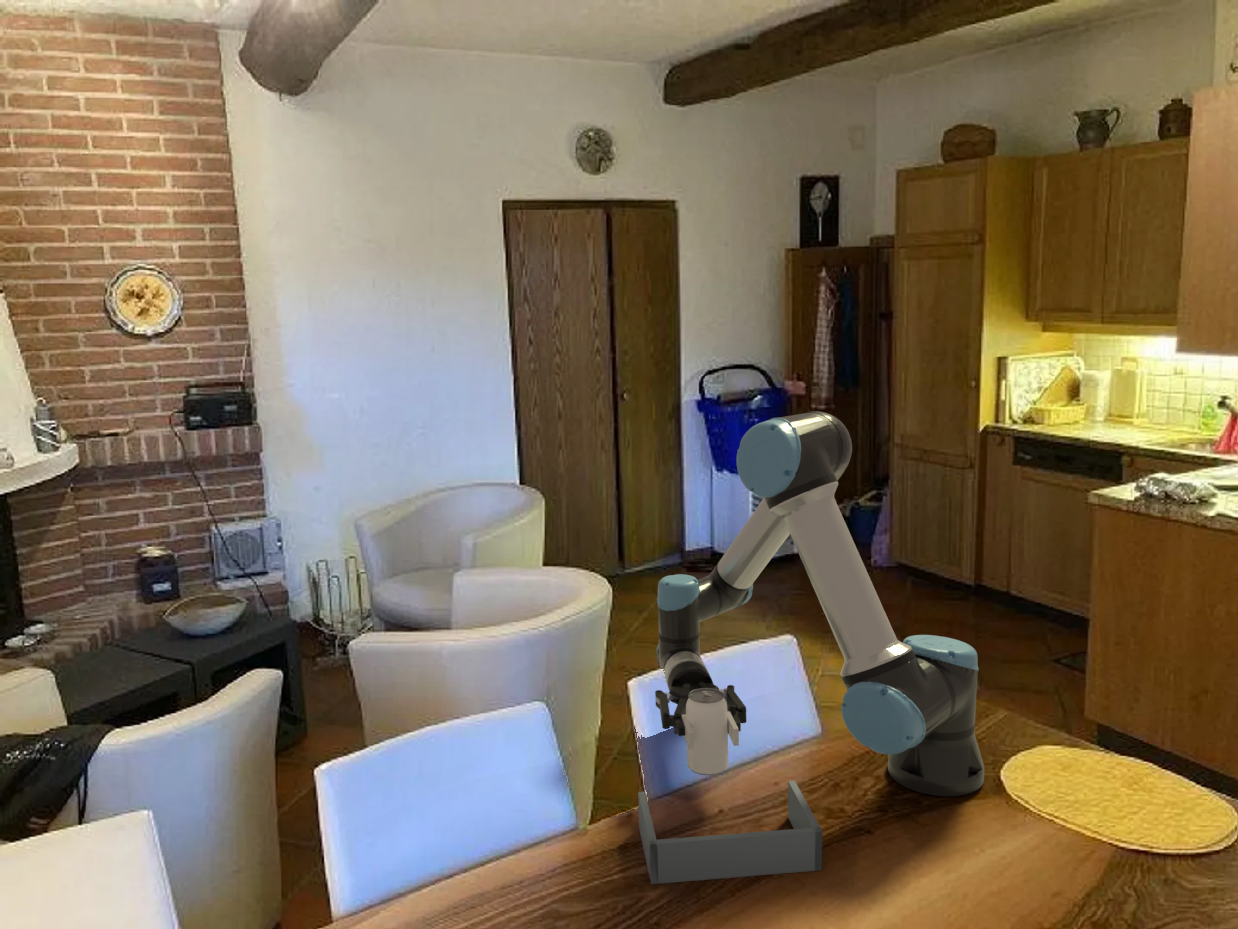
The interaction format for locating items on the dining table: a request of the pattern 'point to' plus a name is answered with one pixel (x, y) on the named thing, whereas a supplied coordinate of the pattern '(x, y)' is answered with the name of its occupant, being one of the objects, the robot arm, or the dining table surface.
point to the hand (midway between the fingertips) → (713, 739)
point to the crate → (734, 848)
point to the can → (708, 731)
